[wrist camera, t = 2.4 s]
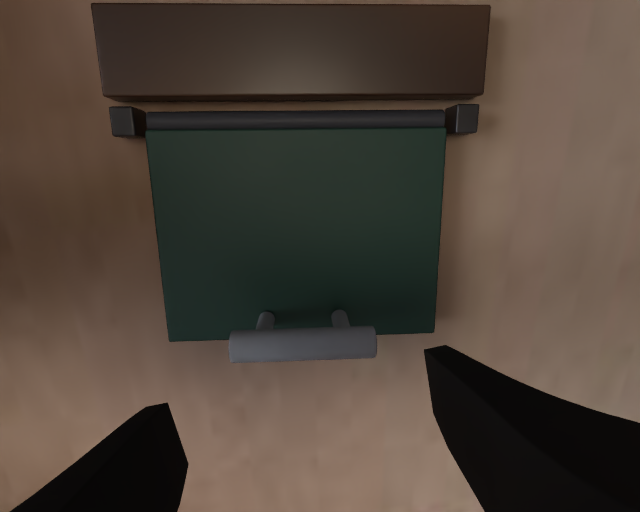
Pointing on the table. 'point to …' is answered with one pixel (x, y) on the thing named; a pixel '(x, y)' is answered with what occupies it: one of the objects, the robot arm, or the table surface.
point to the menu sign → (297, 227)
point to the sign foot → (290, 55)
